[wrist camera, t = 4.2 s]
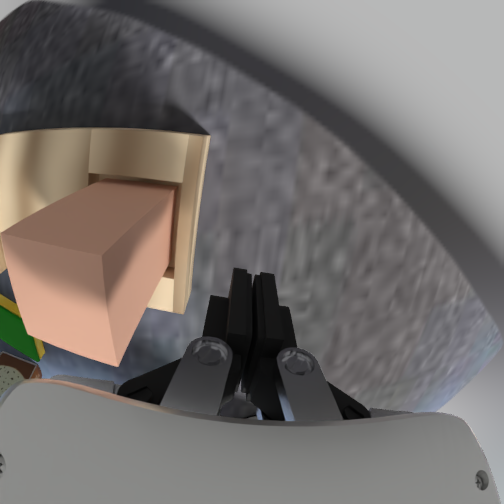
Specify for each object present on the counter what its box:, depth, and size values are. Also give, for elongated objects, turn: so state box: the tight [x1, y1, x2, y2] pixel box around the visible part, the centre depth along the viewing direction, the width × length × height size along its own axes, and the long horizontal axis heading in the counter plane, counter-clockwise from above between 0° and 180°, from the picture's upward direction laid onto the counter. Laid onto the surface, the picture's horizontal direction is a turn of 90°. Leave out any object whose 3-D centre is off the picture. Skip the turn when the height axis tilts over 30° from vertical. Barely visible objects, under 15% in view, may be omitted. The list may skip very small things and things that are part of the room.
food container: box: [0, 351, 42, 397], centre depth 24 cm, size 12×6×10 cm, turn 88°
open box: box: [0, 127, 211, 314], centre depth 16 cm, size 19×12×4 cm, turn 79°
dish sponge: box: [0, 294, 45, 362], centre depth 23 cm, size 7×14×2 cm, turn 71°
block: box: [1, 178, 178, 367], centre depth 13 cm, size 5×5×10 cm
